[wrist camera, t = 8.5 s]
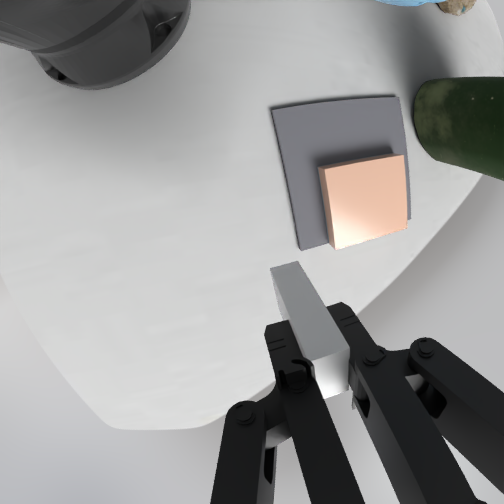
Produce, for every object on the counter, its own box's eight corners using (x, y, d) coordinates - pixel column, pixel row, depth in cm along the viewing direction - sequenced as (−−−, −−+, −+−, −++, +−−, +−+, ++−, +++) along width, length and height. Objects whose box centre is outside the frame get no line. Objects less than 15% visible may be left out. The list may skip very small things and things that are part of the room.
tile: (324, 169, 23) (403, 155, 24) (317, 166, 25) (393, 152, 25) (335, 250, 27) (407, 228, 27) (328, 243, 28) (398, 222, 29)
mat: (271, 110, 23) (272, 110, 22) (396, 97, 23) (398, 97, 23) (299, 249, 29) (301, 251, 28) (408, 217, 29) (410, 219, 29)
